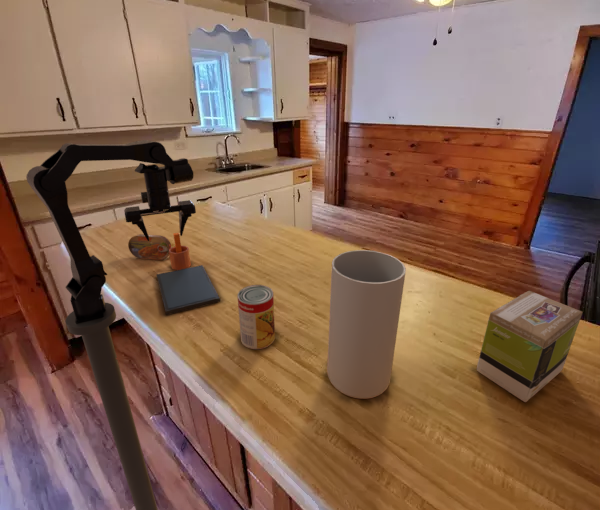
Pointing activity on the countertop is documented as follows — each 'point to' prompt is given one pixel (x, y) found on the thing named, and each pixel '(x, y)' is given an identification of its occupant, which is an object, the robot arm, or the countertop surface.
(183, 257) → the pen cup
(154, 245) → the tin
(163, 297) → the tablet
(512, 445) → the countertop surface
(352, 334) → the cylinder vase
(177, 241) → the stylus
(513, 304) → the tea box
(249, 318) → the canned food
